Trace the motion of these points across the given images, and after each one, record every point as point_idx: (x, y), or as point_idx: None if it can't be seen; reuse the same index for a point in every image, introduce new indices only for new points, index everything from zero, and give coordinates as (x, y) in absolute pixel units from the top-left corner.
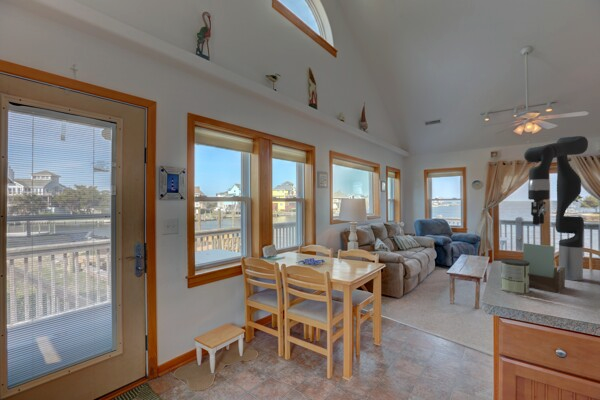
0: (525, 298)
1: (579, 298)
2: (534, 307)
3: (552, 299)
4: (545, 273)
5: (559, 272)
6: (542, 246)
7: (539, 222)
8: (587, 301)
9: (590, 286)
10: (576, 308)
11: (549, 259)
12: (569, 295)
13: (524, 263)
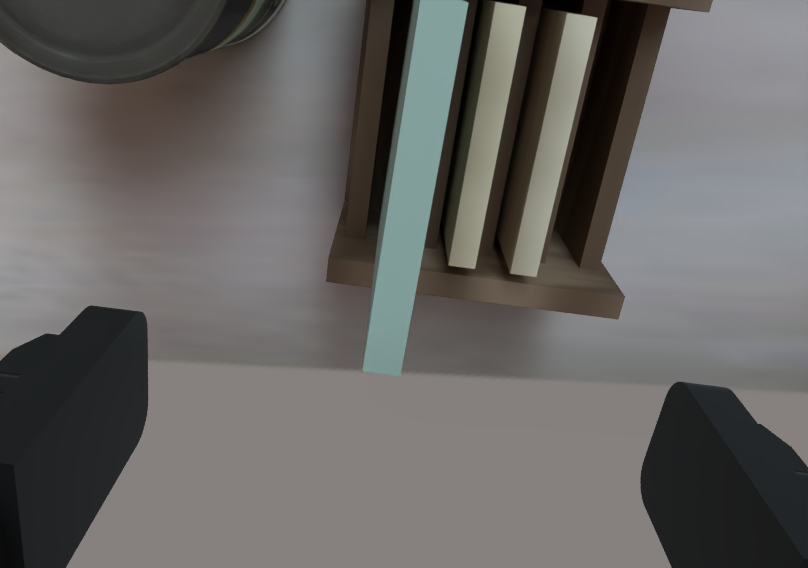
0: None
1: (368, 311)
2: None
3: (199, 185)
4: (386, 178)
5: (358, 284)
6: (382, 250)
7: (670, 429)
8: (328, 342)
9: (779, 374)
10: (109, 293)
11: (376, 258)
12: None
13: (3, 41)
